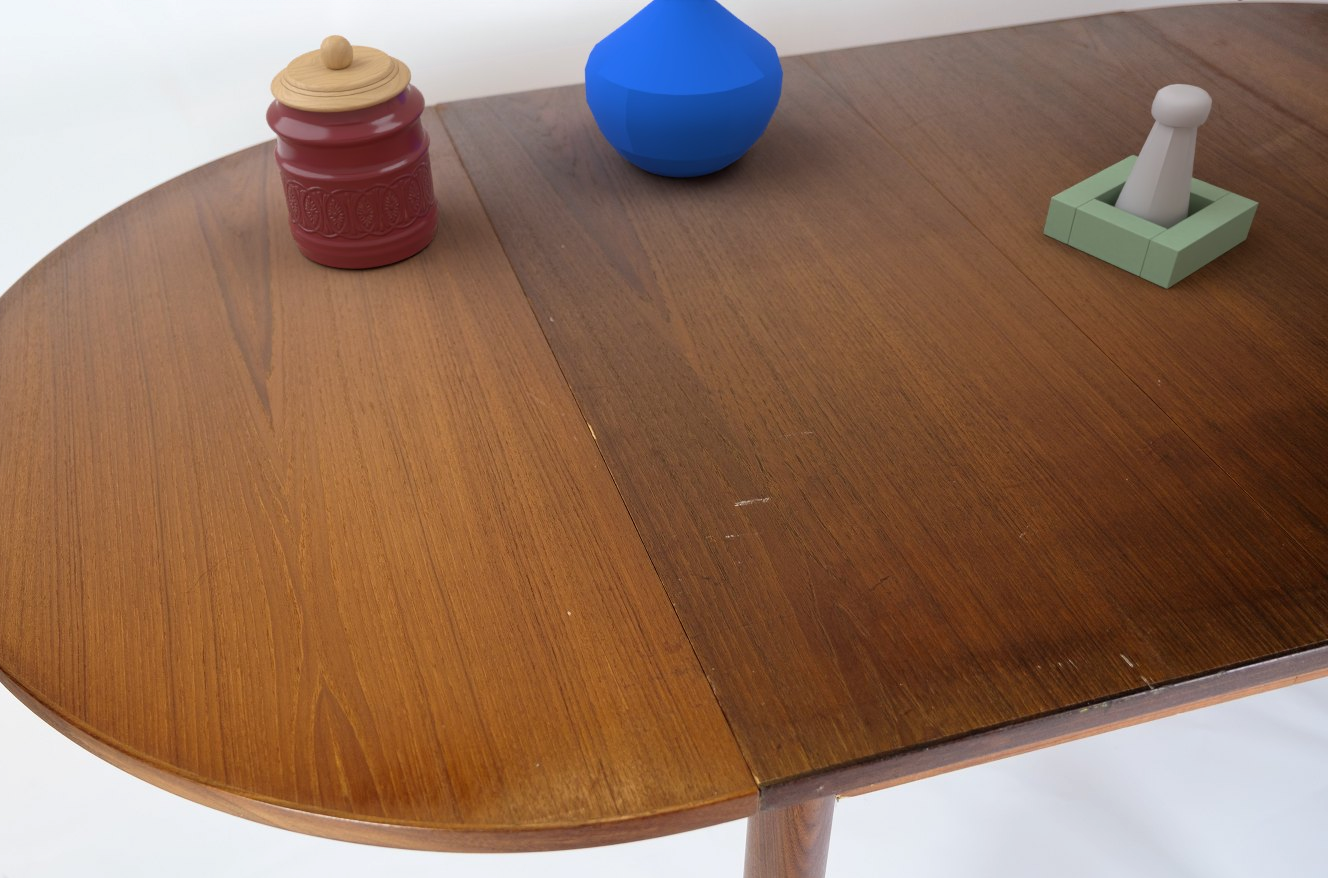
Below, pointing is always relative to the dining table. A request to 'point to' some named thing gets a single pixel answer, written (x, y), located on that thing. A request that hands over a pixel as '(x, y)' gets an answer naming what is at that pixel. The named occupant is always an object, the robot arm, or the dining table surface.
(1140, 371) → the dining table surface
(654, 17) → the vase
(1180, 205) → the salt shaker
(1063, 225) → the pad socket
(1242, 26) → the dining table surface
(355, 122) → the kitchen canister
